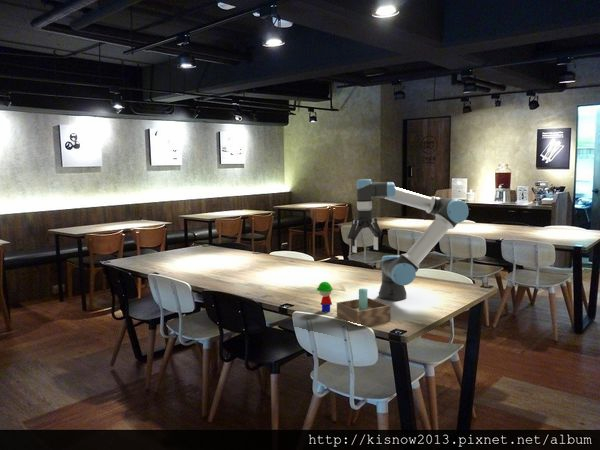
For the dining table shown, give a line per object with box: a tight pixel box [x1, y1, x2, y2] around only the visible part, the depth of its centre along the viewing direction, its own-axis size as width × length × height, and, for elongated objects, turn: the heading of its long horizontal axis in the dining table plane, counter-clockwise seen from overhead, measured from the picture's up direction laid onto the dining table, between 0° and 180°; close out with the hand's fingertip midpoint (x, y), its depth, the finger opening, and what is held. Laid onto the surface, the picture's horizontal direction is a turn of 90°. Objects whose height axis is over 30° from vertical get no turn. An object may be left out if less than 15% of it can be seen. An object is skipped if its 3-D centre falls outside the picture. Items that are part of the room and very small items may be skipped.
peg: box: [358, 288, 368, 311], centre depth 232 cm, size 4×4×14 cm
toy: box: [316, 281, 334, 313], centre depth 245 cm, size 8×8×15 cm
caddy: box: [336, 297, 392, 327], centre depth 232 cm, size 18×18×7 cm
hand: (365, 251), depth 253 cm, fingers open, 13 cm apart
